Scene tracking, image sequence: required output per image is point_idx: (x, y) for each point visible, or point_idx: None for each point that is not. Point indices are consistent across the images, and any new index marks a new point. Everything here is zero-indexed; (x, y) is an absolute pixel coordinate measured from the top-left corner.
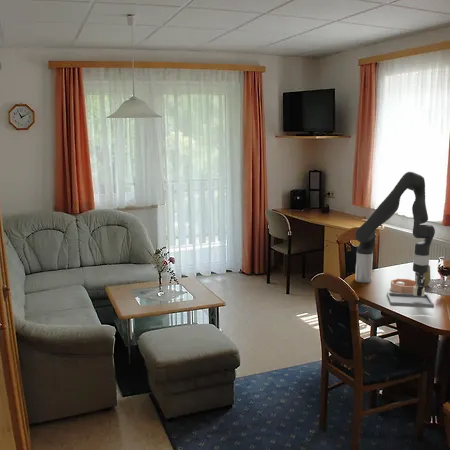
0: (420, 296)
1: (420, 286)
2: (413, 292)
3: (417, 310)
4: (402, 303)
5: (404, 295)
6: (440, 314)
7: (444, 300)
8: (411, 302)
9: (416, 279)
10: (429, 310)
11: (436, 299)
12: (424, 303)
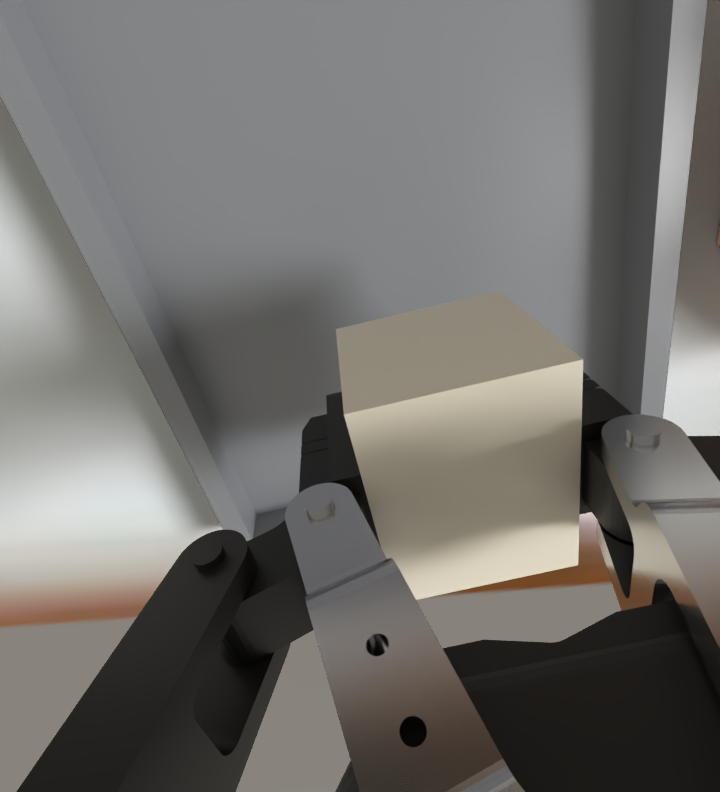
0: (623, 367)
1: (561, 520)
2: (426, 323)
3: (19, 364)
4: (8, 91)
5: (640, 95)
6: (64, 588)
7: (560, 580)
8: (298, 258)
9: (693, 630)
10: (129, 491)
11: (581, 519)
12: (209, 464)
